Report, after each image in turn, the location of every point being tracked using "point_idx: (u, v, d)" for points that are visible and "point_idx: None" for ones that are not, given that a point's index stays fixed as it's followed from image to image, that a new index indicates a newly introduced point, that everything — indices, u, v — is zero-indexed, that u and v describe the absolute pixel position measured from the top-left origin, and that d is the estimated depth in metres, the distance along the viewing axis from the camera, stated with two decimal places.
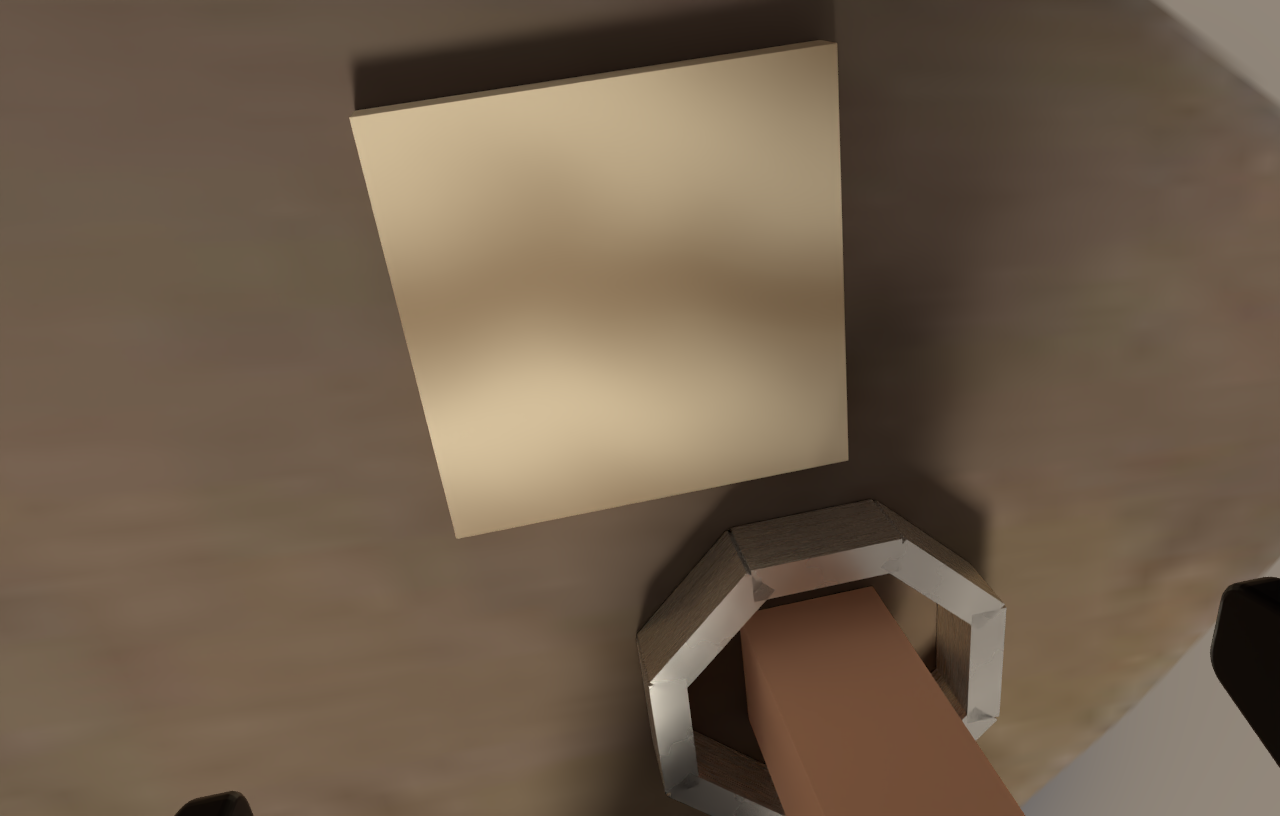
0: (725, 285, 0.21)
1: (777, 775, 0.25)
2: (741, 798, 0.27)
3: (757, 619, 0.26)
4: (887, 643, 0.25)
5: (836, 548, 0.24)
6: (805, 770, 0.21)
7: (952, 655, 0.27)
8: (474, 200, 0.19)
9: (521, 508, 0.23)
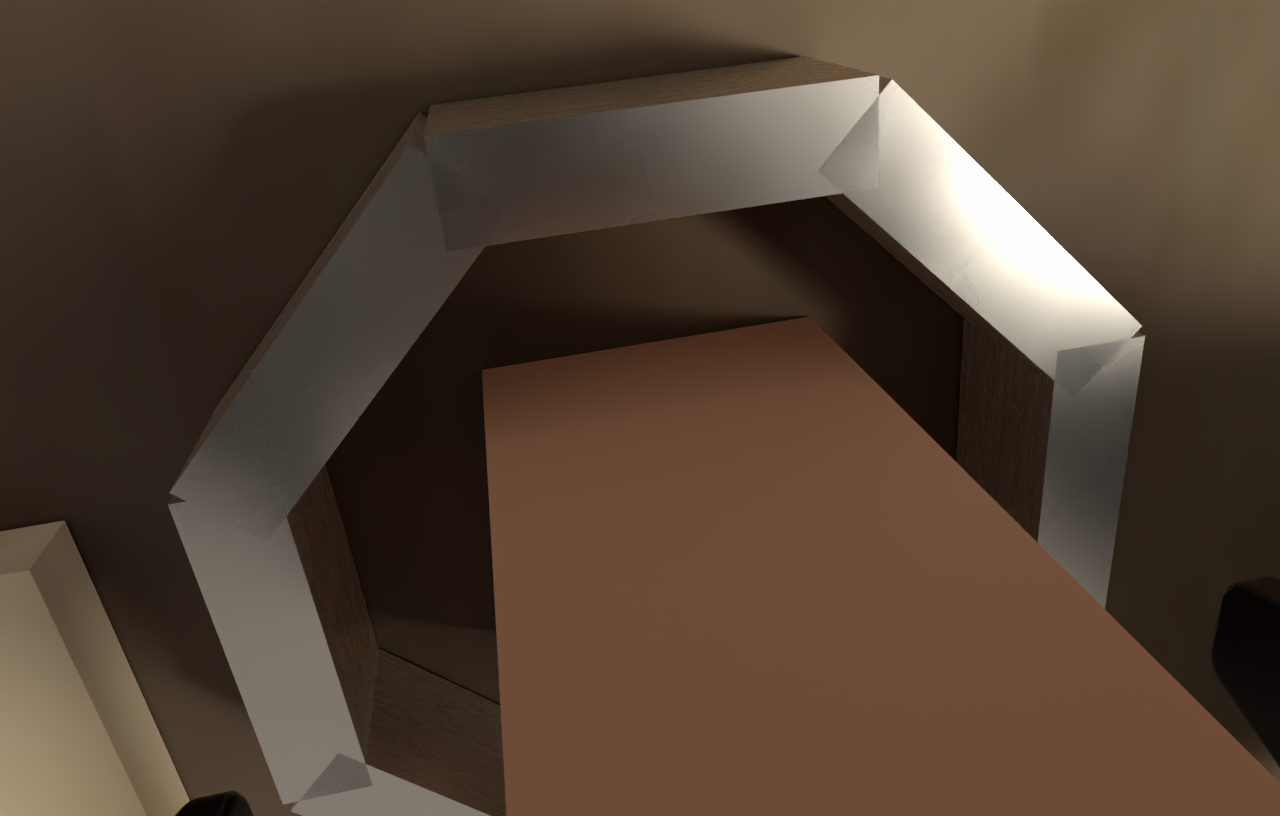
0: None
1: None
2: None
3: None
4: None
5: None
6: None
7: None
8: None
9: None
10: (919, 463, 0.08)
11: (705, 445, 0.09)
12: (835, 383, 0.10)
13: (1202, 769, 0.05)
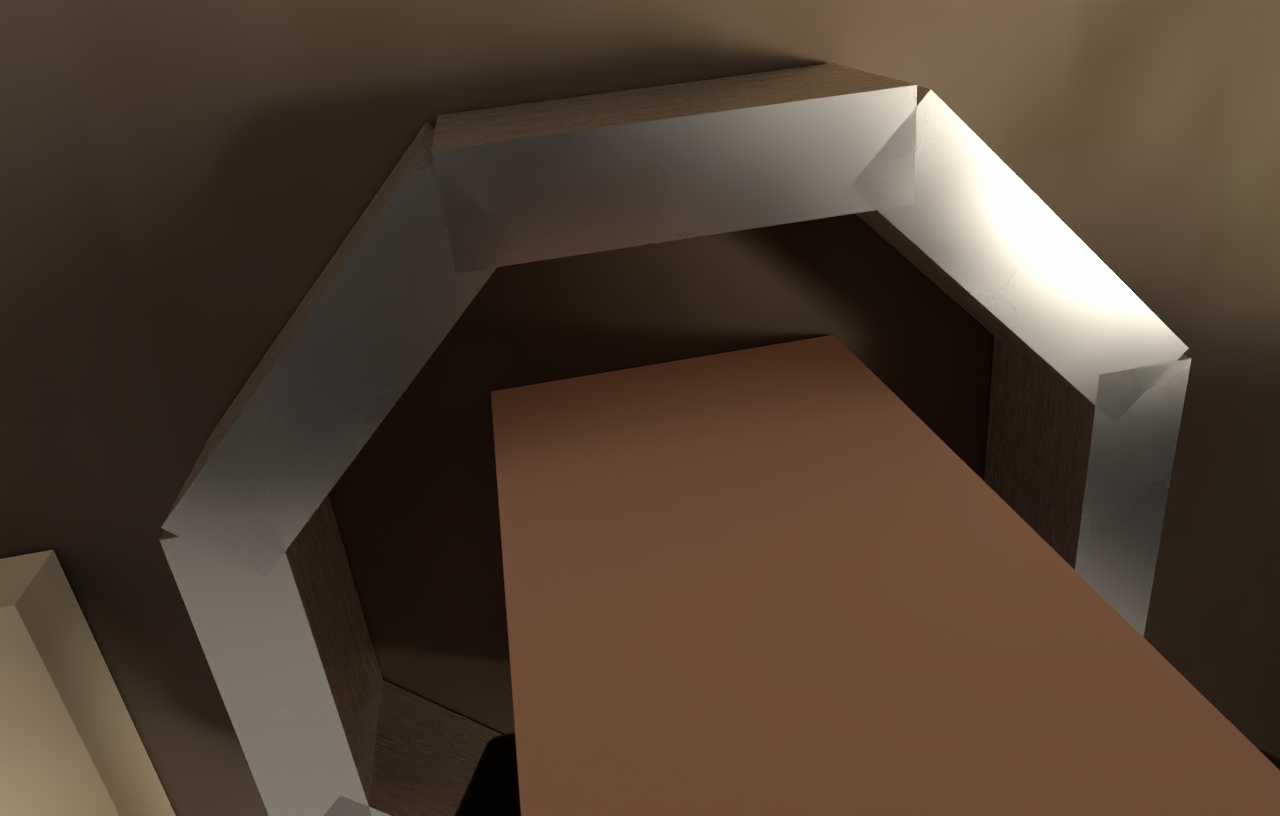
0: None
1: None
2: None
3: None
4: None
5: None
6: None
7: None
8: None
9: None
10: (962, 501, 0.07)
11: (730, 477, 0.08)
12: (866, 409, 0.09)
13: None
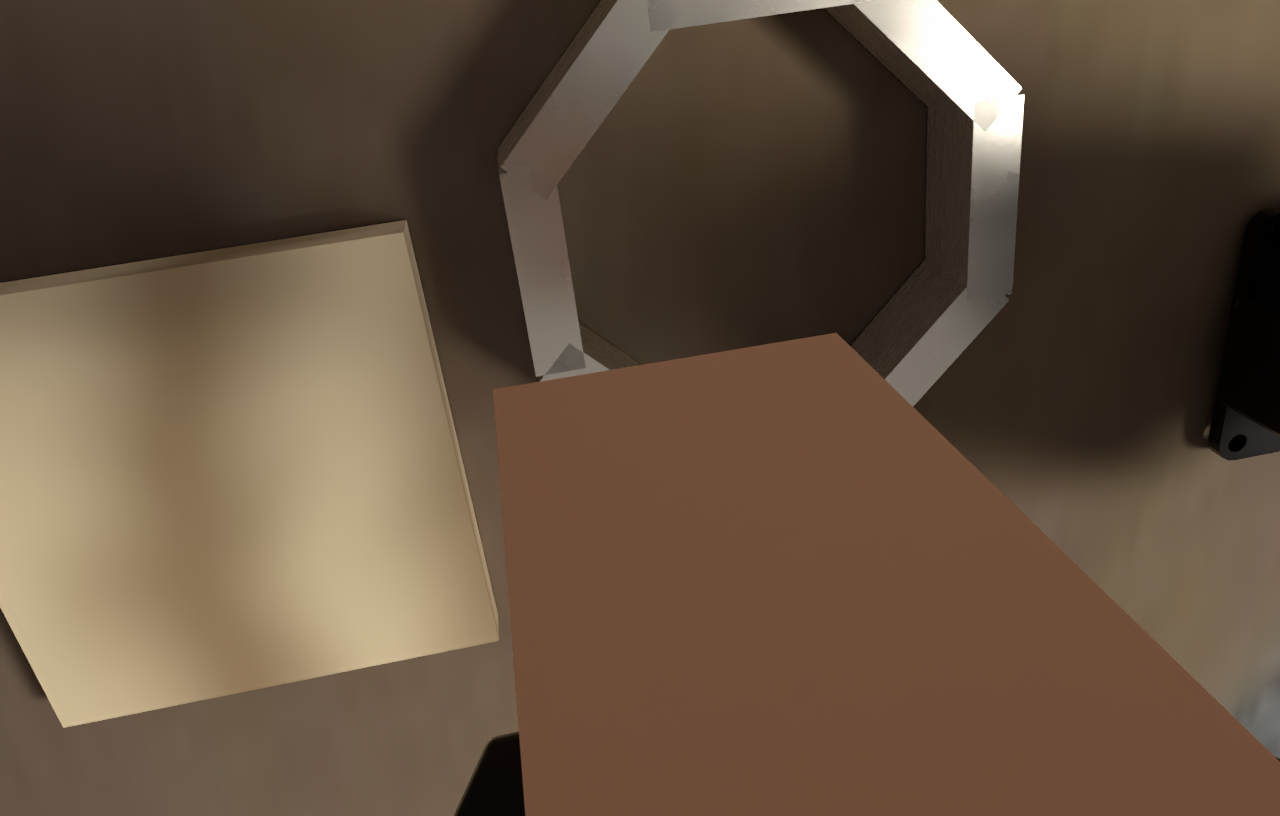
0: (173, 409, 0.19)
1: None
2: (914, 349, 0.20)
3: None
4: None
5: None
6: None
7: None
8: (120, 640, 0.21)
9: (464, 588, 0.21)
10: (965, 497, 0.07)
11: (733, 475, 0.08)
12: (868, 406, 0.09)
13: None
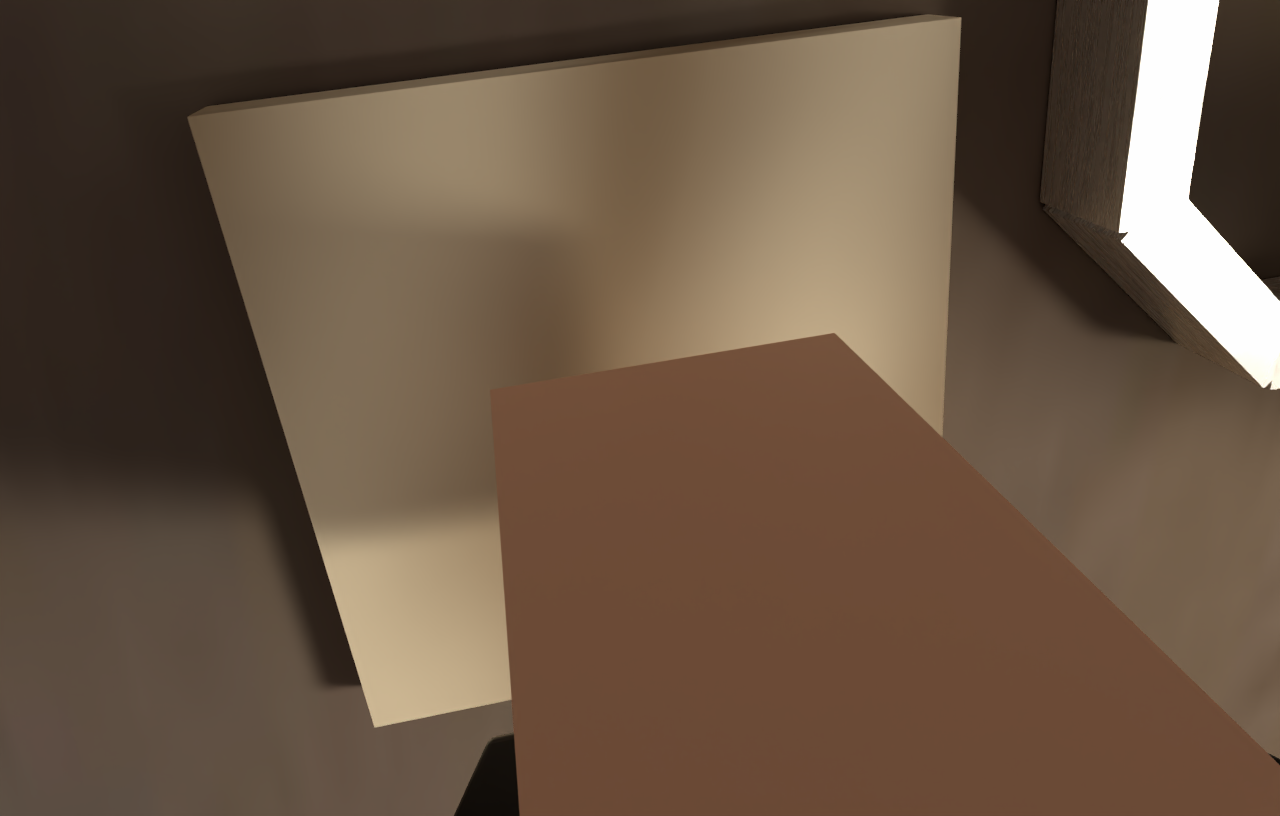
0: (603, 275, 0.13)
1: None
2: None
3: None
4: None
5: (1132, 57, 0.12)
6: None
7: None
8: (470, 607, 0.15)
9: None
10: (964, 497, 0.07)
11: (730, 475, 0.08)
12: (867, 407, 0.09)
13: None
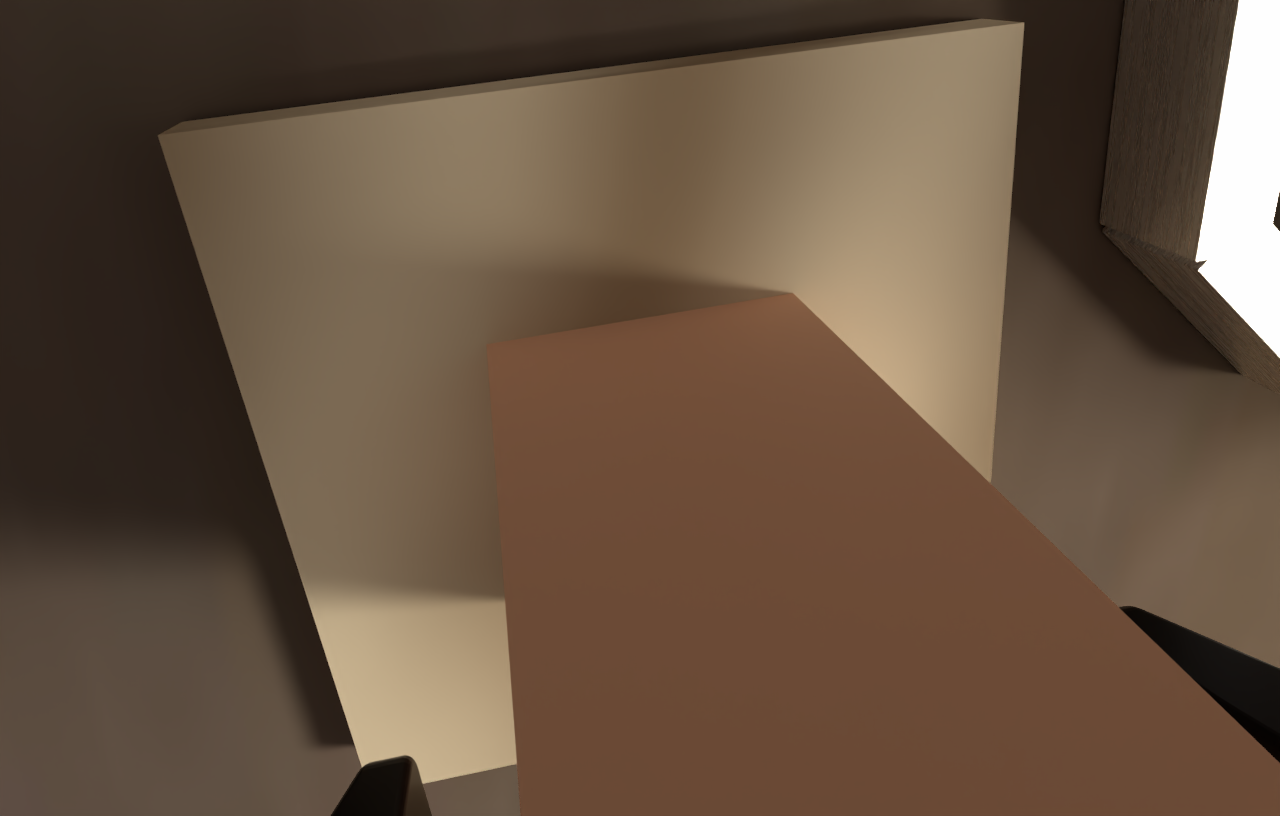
0: (623, 308, 0.12)
1: None
2: None
3: None
4: None
5: (1216, 68, 0.11)
6: None
7: None
8: (474, 666, 0.14)
9: None
10: (888, 419, 0.09)
11: (692, 406, 0.09)
12: (814, 351, 0.10)
13: (1117, 659, 0.06)
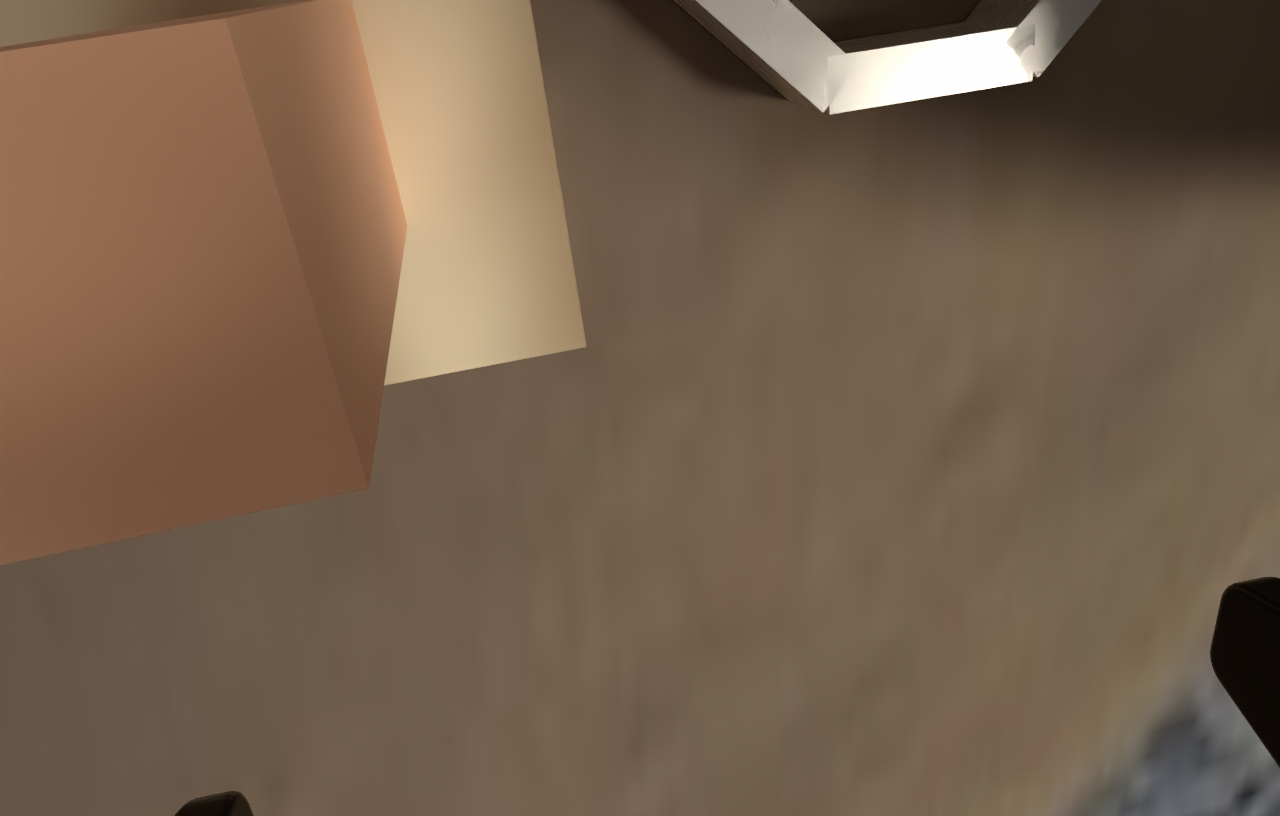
0: (210, 2, 0.15)
1: None
2: None
3: None
4: None
5: None
6: None
7: None
8: None
9: (548, 273, 0.18)
10: None
11: None
12: None
13: (255, 11, 0.09)
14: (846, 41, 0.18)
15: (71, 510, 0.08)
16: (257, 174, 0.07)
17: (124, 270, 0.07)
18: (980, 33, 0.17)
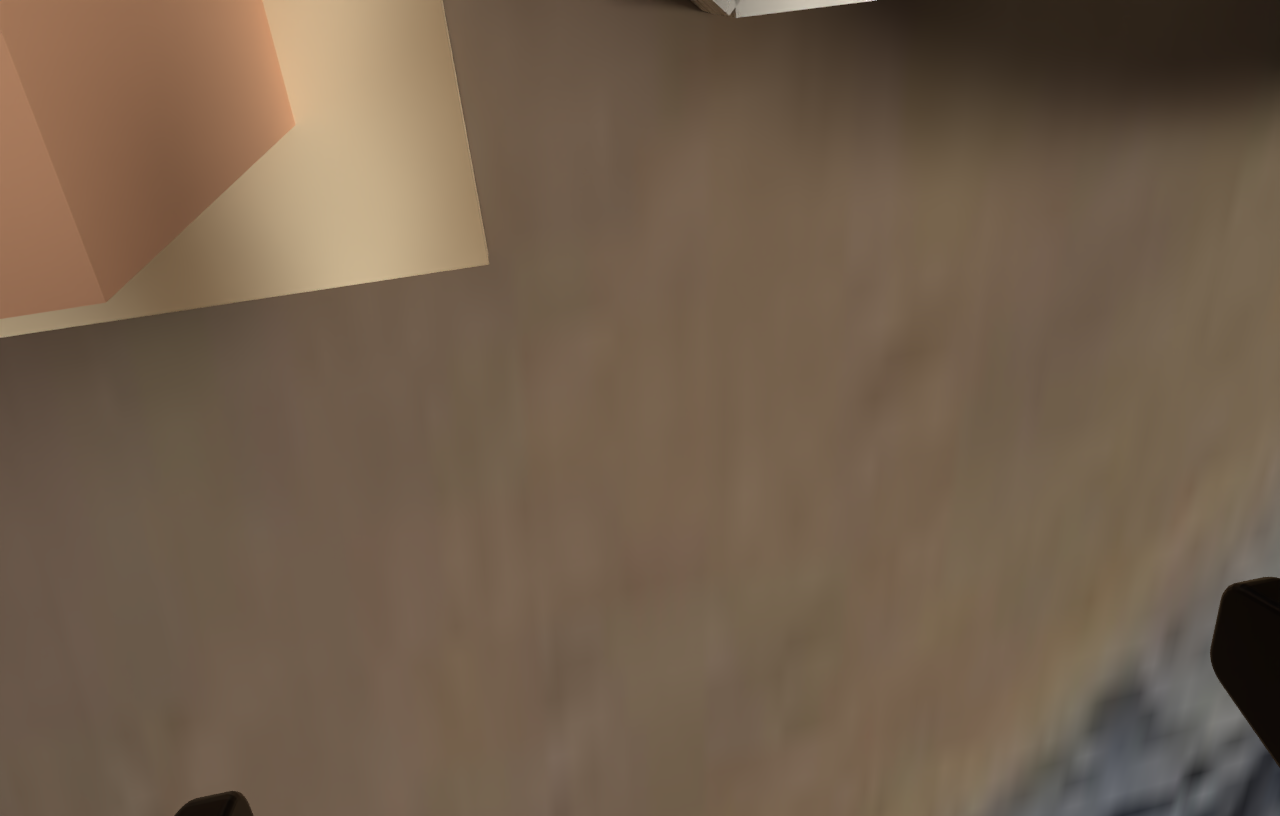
0: None
1: None
2: None
3: None
4: None
5: None
6: None
7: None
8: None
9: (447, 182, 0.18)
10: None
11: None
12: None
13: None
14: None
15: None
16: None
17: None
18: None
